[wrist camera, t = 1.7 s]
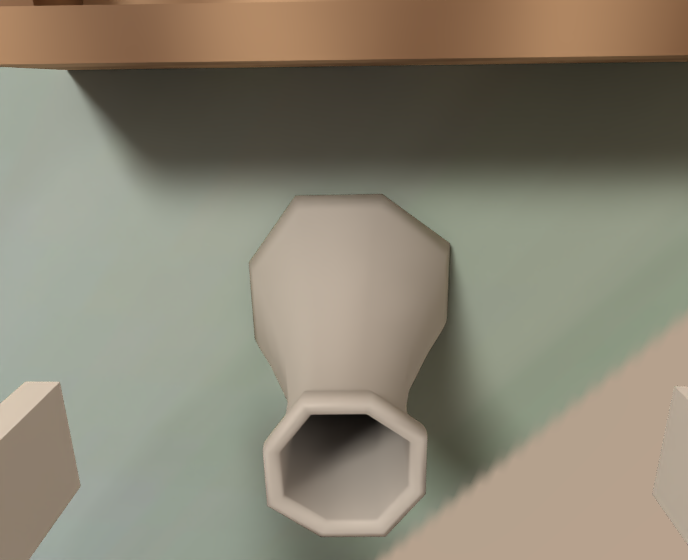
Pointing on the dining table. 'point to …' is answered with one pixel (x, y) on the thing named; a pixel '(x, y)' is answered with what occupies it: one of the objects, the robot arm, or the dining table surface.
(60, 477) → the robot arm
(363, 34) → the wooden tray
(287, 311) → the flask
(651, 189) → the dining table surface
